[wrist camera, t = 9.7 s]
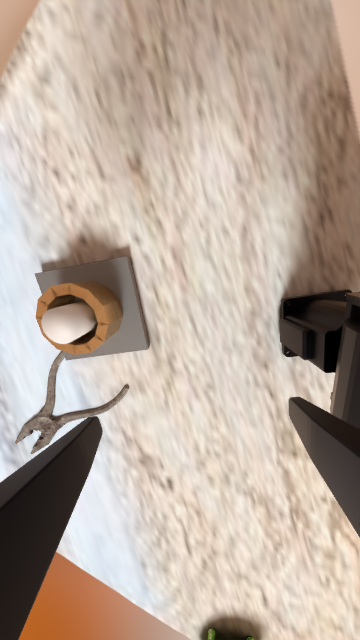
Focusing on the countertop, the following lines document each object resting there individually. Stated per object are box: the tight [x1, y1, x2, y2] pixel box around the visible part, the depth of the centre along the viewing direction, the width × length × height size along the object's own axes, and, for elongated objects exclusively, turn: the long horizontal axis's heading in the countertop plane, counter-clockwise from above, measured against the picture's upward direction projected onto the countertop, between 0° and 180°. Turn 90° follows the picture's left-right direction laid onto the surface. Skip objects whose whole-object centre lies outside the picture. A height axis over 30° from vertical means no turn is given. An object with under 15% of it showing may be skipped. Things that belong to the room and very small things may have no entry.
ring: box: [36, 281, 123, 355], centre depth 17 cm, size 6×6×4 cm
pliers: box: [15, 351, 129, 454], centre depth 24 cm, size 10×1×20 cm
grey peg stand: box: [35, 256, 150, 360], centre depth 17 cm, size 10×10×6 cm
